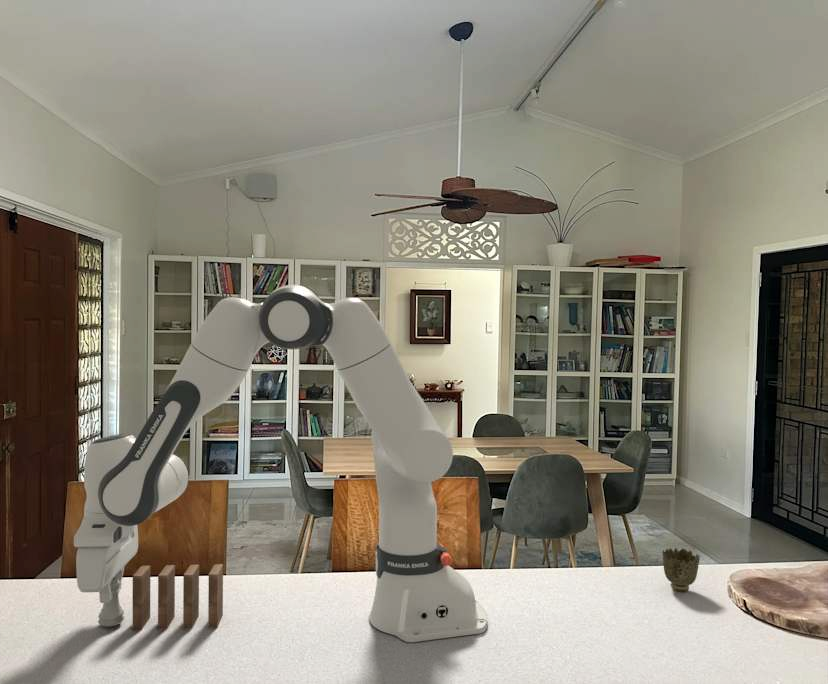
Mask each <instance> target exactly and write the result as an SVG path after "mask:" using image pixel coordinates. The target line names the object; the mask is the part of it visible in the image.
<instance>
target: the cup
mask: <svg viewBox="0 0 828 684" xmlns="http://www.w3.org/2000/svg"><path fill="white" fill-rule="evenodd" d="M661 554H662V562H663V563H662V564H663V565H662V566H663V572H664V575H665V577H666V579H667V581H669V582H670V588H671V589H672V590H673V591H674V592H677V593H687V592H688V591H689V590H690V585H693V584H694V583H695V581H696V579H697V575H698V569H699V563H700V558H701V556H699V553H696V554H695V555H693V551H691V550H689V551H688V550H687V549H684V548H682V549H679V550H678V548H676V547H675V548H674V550H673V549H672V548H671V547H670V548H665V550H664V549H663V551H661Z"/></svg>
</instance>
